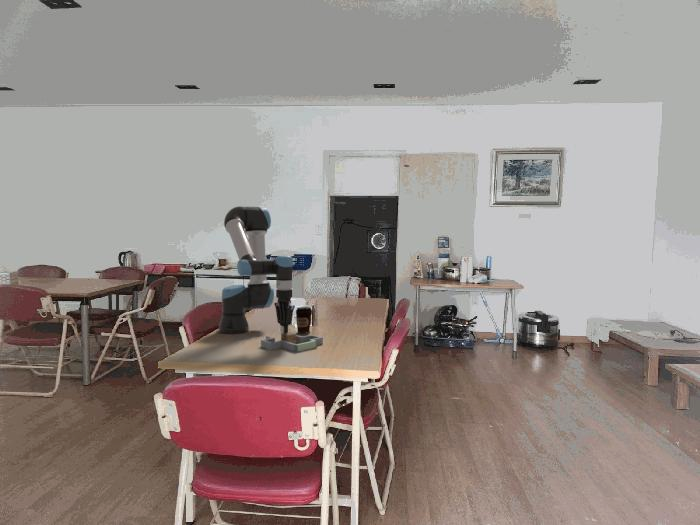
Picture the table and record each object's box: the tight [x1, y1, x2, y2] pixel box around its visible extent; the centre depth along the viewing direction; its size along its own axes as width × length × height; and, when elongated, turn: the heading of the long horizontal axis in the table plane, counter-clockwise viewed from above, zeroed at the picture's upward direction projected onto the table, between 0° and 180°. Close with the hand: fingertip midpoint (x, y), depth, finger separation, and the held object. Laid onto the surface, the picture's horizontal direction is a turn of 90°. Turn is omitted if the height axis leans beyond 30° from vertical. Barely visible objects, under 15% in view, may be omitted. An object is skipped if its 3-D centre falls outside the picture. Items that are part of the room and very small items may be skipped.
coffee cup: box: [295, 306, 313, 335], centre depth 244 cm, size 9×8×13 cm
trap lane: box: [260, 334, 324, 353], centre depth 220 cm, size 23×24×3 cm
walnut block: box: [280, 331, 297, 344], centre depth 221 cm, size 5×5×5 cm
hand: (284, 339), depth 223 cm, fingers closed
